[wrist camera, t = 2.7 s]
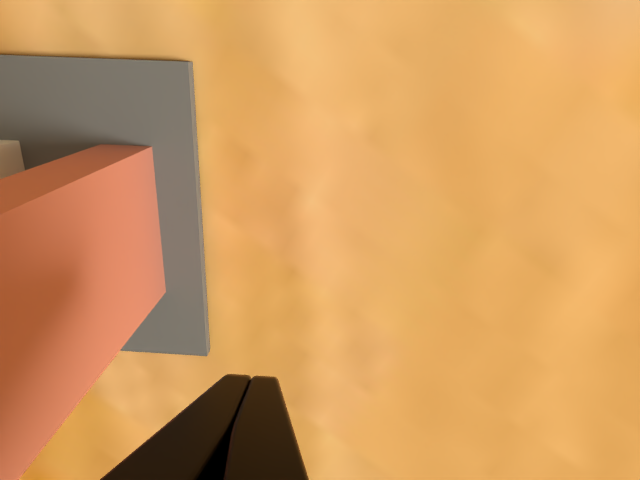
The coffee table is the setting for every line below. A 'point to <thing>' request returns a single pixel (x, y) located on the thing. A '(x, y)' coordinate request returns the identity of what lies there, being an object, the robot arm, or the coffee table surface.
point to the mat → (124, 129)
